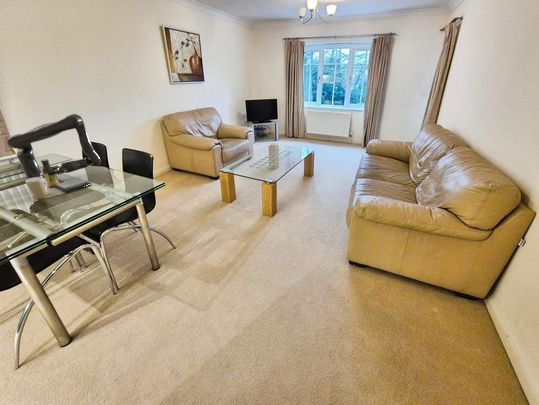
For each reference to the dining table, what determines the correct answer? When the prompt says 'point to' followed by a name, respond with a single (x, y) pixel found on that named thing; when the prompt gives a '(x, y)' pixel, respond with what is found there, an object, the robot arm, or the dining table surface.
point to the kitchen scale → (72, 185)
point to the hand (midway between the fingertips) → (45, 172)
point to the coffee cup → (37, 187)
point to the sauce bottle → (49, 178)
